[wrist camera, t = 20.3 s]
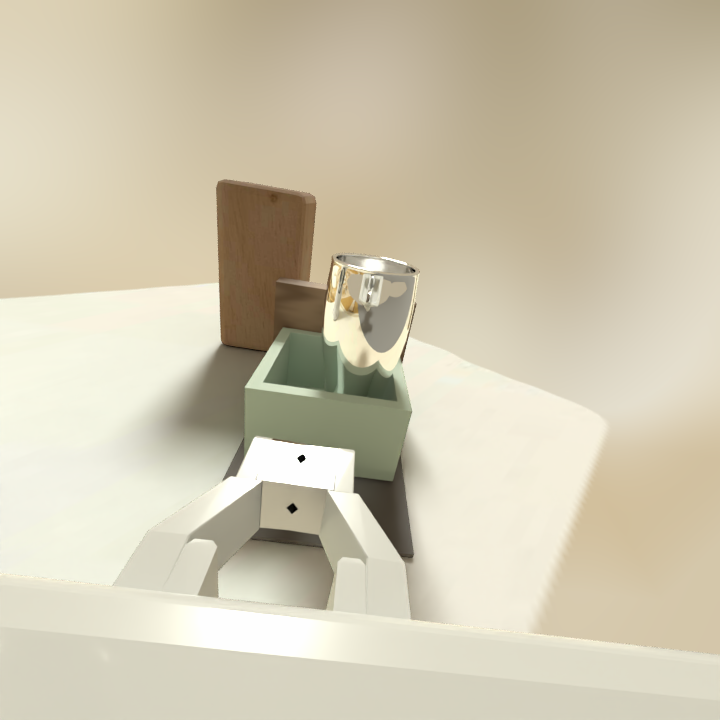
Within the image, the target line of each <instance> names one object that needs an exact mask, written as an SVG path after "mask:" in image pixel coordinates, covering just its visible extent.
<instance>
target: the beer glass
mask: <svg viewBox="0 0 720 720" xmlns="http://www.w3.org/2000/svg"><path fill="white" fill-rule="evenodd" d="M419 274H420V271H419V269H417V268H416V267H414V266H412V265H409V264H406V263H404V262H400V261H396V260H393V259H389V258H384V257H379V256H372V255H366V254H356V253H338V254H335V255H333V256H332V263H331V268H330V272H329V277H328V282H327V287H326V292H325V299H324V305H323V314H322V354H323V368H324V391H327V392H334V393H341V394H348V395H355V396H362V397H369V398H376V399H383V396H384V392H385V390H386V387H387V385H388V382H389V380H390V378H391V376H392V374H393V371H394V369H395V367H396V365H397V362H398V360H399V358H400V355H401V353H402V350H403V347H404V345H405V342H406V339H407V335H408V331H409V328H410V324H411V319H412V314H413V309H414V303H415V297H416V290H417V283H418V277H419Z"/></svg>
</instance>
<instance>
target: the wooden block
mask: <svg viewBox="0 0 720 720" xmlns="http://www.w3.org/2000/svg"><path fill="white" fill-rule="evenodd" d="M216 194H217V224H218V225H217V227H218V258H219V259H218V260H219V292H220V325H221V341H222V343H223V344H226V345H230V346H237V347H243V348H250V349H257V350H263V351H268V350H269V348H270V347H271V345H272V344H273V333H274V312H275V290H276V281H277V280H278V279H279V278H280V277H283V278H289V279H295V280H301V281H308V282H309V278H310V266H311V256H312V245H313V234H314V223H315V211H316V200H315V197H314V196H313V195H311V194H310V193H305V192H299V191H294V190H288V189H283V188H277V187H271V186H265V185H260V184H254V183H249V182H240V181H233V180H222V181H219V182H218V184H217V188H216Z"/></svg>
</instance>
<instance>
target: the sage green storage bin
mask: <svg viewBox="0 0 720 720" xmlns="http://www.w3.org/2000/svg"><path fill="white" fill-rule="evenodd" d="M411 414H412V408H411V404H410V399H409V395H408V390H407V386H406V381H405V376H404V372H403V367H402V363H401V358H399V360H398V362H397V365H396V367H395V369H394V371H393V374H392V376H391V378H390V380H389V382H388V385H387V387H386V390H385V392H384V396H383V399H376V398H369V397H362V396H355V395H348V394H341V393H334V392H327V391H324V368H323V354H322V333H318V332H311V331H305V330H298V329H292V328H285V327H283V328H282V329H281V331H280V333H279V334H278V336H277V337H276V339H275V340H274V342H273V344H272V345H271V347H270V348H269V350H268V351H267V353H266V355H265V356H264V358H263V359H262V361H261V362H260V364H259V366H258V367H257V369H256V370H255V372H254V373H253V375H252V377H251V378H250V380H249V381H248V383H247V384H246V386H245V408H244V458H245V456H246V453H247V451H248V449H249V447H250V445H251V442H252V440H253V439H254V437H255V436H261V437H267V438H272V439H273V438H275V439H281V440H287V441H293V442H298V443H304V444H312V445H319V446H326V447H333V448H337V449H338V448H342V449H350V450H354V451H355V464H354V476H355V477H362V478H370V479H378V480H386V481H393V478H394V475H395V471H396V468H397V464H398V460H399V457H400V453H401V450H402V446H403V442H404V439H405V435H406V432H407V428H408V424H409V421H410V417H411Z"/></svg>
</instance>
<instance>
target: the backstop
mask: <svg viewBox="0 0 720 720" xmlns="http://www.w3.org/2000/svg"><path fill="white" fill-rule="evenodd" d="M326 287H327V285H326V284H320V283H313V282H308V281H301V280H295V279H289V278H283V277H280V278H279V279H278V280H277V281H276V290H275V312H274V333H273V342H274V340H275V339H276V337H277V336H278V334H279V333H280V331H281V329H282V328H283V327H285V328H292V329H298V330H305V331H311V332H318V333H322V314H323V305H324V299H325V292H326ZM415 308H416V302H415V303H414V309H413V314H412V319H411V324H412V320H413V316H414V312H415ZM411 324H410V328H411ZM410 328H409V331H408V335H407V339H406V342H405V345H404V347H403V350H402V353H401V355H400V358H401V363H402V361H403V357H404V353H405V349H406V345H407V341H408V337H409V333H410ZM243 460H244V439H243V441H242V443H241V445H240V447H239V449H238V451H237V453H236V455H235V457H234V459H233V461H232V463H231V465H230V467H229V469H228V471H227V473H226V475H225V477H224V479H223V481H224V480H226V479H227V478H229V477H230V476H232V477H236V475H237V473H238V471H239V469H240V466H241V464H242V462H243ZM223 481H222V482H223ZM353 493H355V494H359V496H360V497H361V499H362V500H363V502H364V503H365V505H366V506H367V508H368V509H369V511H370V512H371V514H372V515H373V517H374V518H375V519H376V521H377V522H378V524H379V525H380V527H381V528H382V530H383V531H384V533H385V534H386V536H387V537H388V539H389V540H390V542H391V543H392V545H393V546H394V548H395V549H396V551H397V552H398V554H399V555H400V556H404V557H413V555H414V553H413V546H412V539H411V531H410V524H409V517H408V509H407V502H406V495H405V487H404V480H403V473H402V465H401V458H400V457H399V460H398V464H397V468H396V471H395V475H394V478H393V481H386V480H378V479H370V478H362V477H355V476H354V491H353ZM250 539H257V540H265V541H274V542H283V543H291V544H300V545H309V546H317V547H323V545H322V543H321V540H320V538H319V535H316V534H310V533H303V532H297V531H291V530H282V529H272V528H262V527H259V530H258V531H257V532H256V533H255V534H254V535H253V536H252V537H251V538H250Z"/></svg>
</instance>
